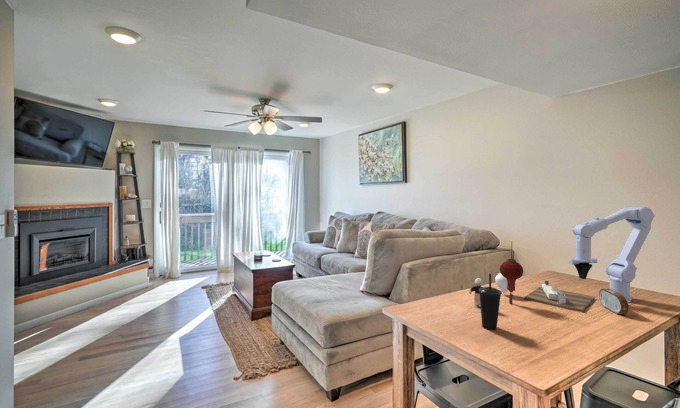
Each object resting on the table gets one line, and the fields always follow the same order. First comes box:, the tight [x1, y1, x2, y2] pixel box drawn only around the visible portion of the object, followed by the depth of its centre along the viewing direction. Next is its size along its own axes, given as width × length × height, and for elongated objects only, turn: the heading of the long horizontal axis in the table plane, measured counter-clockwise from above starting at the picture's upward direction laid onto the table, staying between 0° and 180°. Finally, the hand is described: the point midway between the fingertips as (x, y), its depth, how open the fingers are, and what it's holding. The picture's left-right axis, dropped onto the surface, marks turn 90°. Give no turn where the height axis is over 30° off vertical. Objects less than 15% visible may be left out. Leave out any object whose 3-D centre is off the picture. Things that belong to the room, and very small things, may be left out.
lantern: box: [499, 242, 524, 305], centre depth 139 cm, size 10×10×30 cm
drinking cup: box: [479, 272, 503, 331], centre depth 114 cm, size 8×8×20 cm
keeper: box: [551, 287, 566, 305], centre depth 141 cm, size 10×2×4 cm, turn 162°
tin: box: [598, 287, 630, 316], centre depth 132 cm, size 15×3×8 cm, turn 168°
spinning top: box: [494, 272, 508, 295], centre depth 152 cm, size 8×8×12 cm
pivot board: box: [523, 280, 595, 313], centre depth 146 cm, size 26×22×6 cm
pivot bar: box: [541, 283, 557, 300], centre depth 150 cm, size 18×4×2 cm, turn 155°
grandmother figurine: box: [468, 277, 484, 309], centre depth 135 cm, size 8×4×13 cm, turn 71°
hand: (582, 278), depth 147 cm, fingers closed
